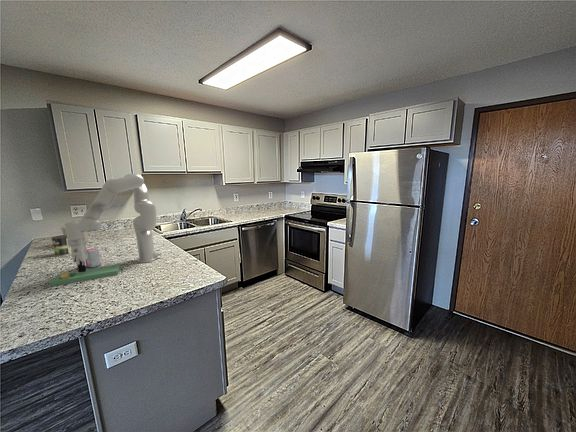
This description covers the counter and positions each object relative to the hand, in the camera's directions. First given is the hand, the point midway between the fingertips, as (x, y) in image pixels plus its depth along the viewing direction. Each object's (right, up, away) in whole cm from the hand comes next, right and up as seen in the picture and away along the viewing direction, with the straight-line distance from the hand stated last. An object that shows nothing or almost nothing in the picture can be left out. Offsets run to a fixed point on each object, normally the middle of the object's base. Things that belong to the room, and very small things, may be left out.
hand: (82, 271), depth 139 cm
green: (+2, -3, +2) cm, 4 cm away
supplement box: (-8, -1, +18) cm, 19 cm away
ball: (-7, -2, -4) cm, 8 cm away
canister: (-63, +7, +68) cm, 93 cm away
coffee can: (-51, +3, +43) cm, 67 cm away
